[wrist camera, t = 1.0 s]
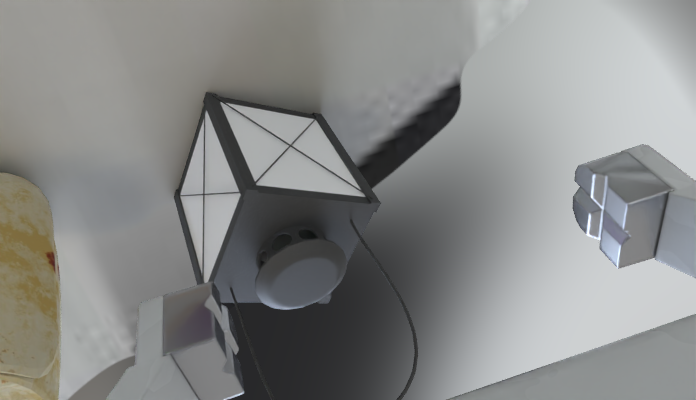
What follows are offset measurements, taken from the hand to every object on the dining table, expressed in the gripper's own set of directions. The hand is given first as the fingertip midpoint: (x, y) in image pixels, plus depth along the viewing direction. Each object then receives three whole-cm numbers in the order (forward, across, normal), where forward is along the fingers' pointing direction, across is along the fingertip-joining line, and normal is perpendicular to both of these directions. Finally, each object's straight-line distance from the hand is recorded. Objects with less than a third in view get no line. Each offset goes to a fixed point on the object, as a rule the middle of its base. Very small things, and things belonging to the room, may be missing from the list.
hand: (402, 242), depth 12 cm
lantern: (+37, +5, +19) cm, 42 cm away
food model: (+34, +24, +15) cm, 45 cm away
